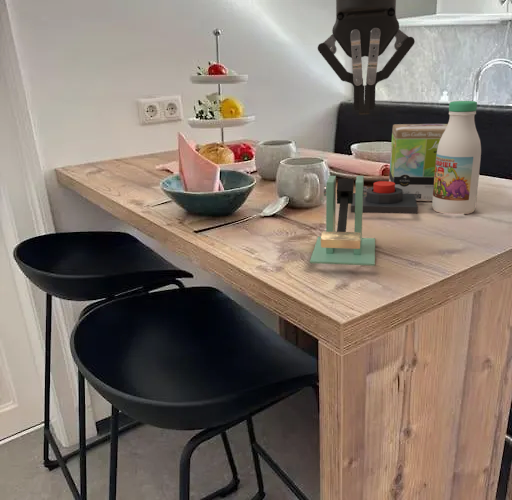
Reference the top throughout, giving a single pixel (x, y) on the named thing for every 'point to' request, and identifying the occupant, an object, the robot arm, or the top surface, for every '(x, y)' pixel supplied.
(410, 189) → the tea box
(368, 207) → the button box
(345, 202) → the switch lever
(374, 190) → the red button
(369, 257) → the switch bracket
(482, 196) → the top surface
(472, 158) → the milk bottle
